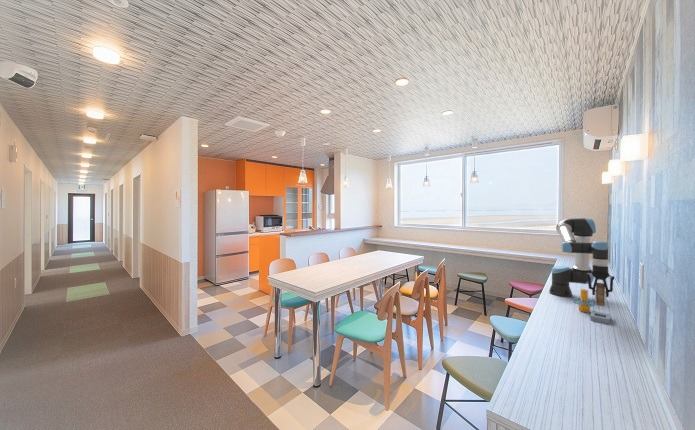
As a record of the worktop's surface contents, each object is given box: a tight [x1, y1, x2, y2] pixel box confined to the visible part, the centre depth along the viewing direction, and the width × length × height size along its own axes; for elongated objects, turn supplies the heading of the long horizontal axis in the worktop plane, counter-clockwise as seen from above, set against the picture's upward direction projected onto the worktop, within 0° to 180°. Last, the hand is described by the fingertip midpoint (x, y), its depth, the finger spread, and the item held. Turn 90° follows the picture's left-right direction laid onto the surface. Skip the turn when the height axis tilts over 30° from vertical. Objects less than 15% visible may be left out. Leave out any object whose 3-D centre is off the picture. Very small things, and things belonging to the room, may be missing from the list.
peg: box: [595, 282, 606, 307], centre depth 178 cm, size 4×4×14 cm
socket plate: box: [590, 310, 611, 325], centre depth 179 cm, size 12×9×3 cm
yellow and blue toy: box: [572, 288, 597, 313], centre depth 194 cm, size 12×10×15 cm
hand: (600, 300), depth 178 cm, fingers closed on peg, 4 cm apart
